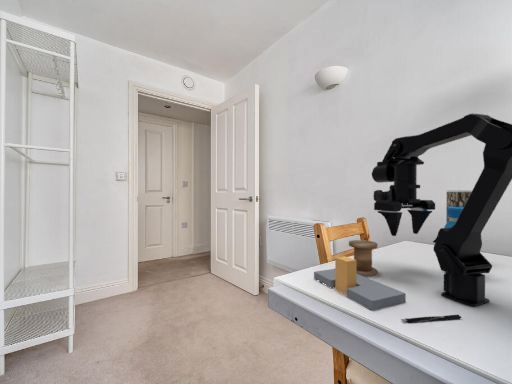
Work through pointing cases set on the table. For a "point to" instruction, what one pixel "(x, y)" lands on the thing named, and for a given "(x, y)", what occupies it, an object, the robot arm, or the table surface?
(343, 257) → the tan upright block
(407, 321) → the black twisted rod
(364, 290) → the board
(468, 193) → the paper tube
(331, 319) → the table surface
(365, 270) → the bobbin
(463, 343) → the table surface
